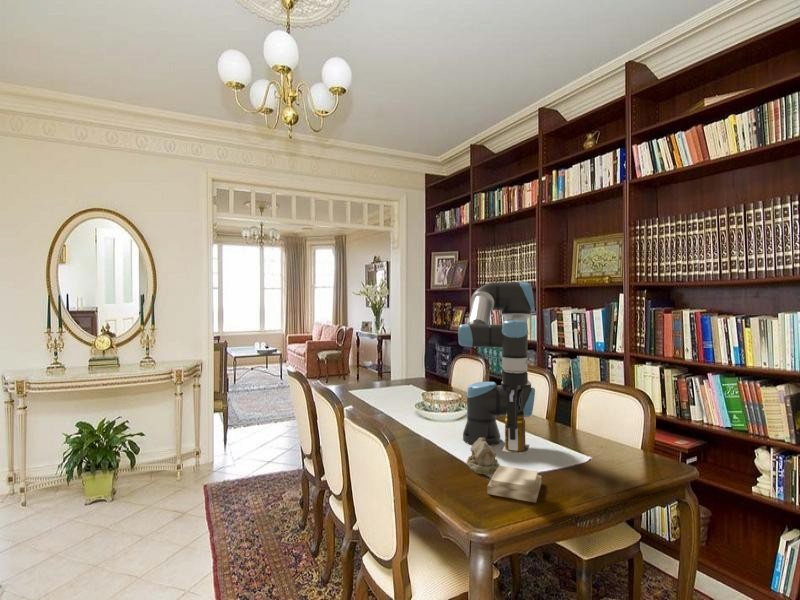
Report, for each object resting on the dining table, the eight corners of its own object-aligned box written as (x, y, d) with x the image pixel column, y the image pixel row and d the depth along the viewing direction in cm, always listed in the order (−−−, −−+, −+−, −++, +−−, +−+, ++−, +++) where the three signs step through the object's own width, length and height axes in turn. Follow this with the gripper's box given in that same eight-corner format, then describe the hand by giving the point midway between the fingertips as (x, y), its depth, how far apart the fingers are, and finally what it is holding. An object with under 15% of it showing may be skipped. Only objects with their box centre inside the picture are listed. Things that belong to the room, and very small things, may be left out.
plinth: (487, 493, 131) (487, 480, 131) (496, 475, 143) (496, 463, 143) (536, 502, 125) (536, 488, 125) (541, 483, 138) (541, 470, 138)
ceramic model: (463, 459, 158) (463, 431, 158) (493, 458, 159) (493, 431, 159) (472, 475, 144) (472, 445, 144) (505, 474, 145) (505, 444, 145)
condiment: (501, 451, 132) (501, 411, 132) (506, 442, 140) (506, 405, 140) (526, 454, 129) (526, 414, 129) (529, 445, 137) (529, 407, 137)
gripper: (522, 377, 123) (522, 458, 124) (531, 366, 141) (531, 438, 141) (496, 375, 127) (496, 454, 127) (508, 365, 144) (508, 435, 144)
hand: (515, 445), depth 134 cm, fingers closed on condiment, 6 cm apart
